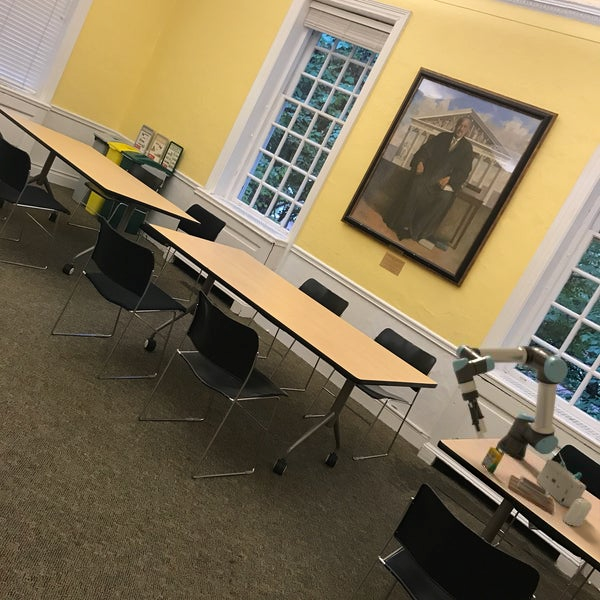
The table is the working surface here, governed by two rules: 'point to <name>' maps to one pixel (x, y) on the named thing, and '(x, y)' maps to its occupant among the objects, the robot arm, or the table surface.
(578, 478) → the teal l-shaped bracket
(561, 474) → the stereo radio cassette player
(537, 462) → the table surface
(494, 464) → the crayon box
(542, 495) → the walnut crayon stand
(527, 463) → the table surface
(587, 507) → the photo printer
